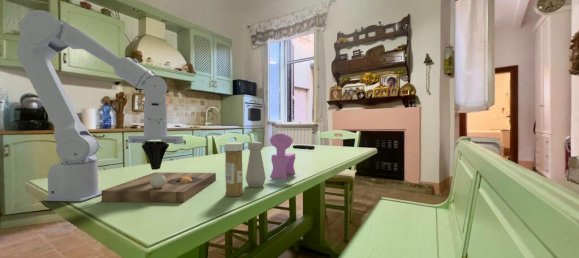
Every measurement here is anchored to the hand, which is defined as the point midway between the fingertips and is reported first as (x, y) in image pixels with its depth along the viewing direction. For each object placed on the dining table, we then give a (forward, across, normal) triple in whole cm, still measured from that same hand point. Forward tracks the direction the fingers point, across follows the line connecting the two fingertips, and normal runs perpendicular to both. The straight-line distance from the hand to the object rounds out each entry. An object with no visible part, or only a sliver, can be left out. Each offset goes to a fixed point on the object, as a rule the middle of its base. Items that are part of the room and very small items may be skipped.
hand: (155, 169), depth 71 cm
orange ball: (+4, -8, 0) cm, 9 cm away
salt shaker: (+6, -27, -5) cm, 28 cm away
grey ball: (+1, -5, +8) cm, 10 cm away
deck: (+6, -3, 0) cm, 7 cm away
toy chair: (+6, -34, -20) cm, 40 cm away
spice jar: (+6, -23, +4) cm, 24 cm away
